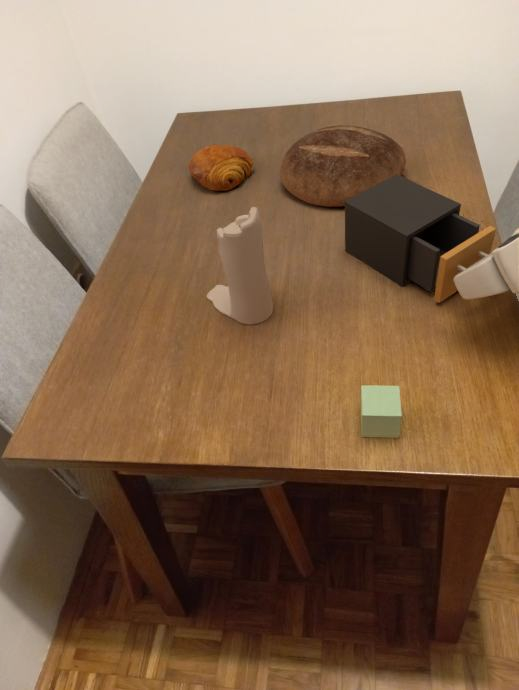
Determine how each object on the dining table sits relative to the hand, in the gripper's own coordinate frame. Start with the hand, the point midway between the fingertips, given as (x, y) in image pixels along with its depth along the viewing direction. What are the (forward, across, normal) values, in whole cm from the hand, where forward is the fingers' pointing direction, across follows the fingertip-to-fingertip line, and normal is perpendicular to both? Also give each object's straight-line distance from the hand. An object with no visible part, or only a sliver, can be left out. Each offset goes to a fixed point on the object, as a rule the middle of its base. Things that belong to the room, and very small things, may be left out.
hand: (478, 267), depth 82 cm
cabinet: (+16, 0, -8) cm, 18 cm away
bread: (+36, -11, -27) cm, 46 cm away
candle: (+23, +30, -14) cm, 40 cm away
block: (-2, +29, +10) cm, 31 cm away
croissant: (+51, +7, -42) cm, 67 cm away
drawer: (+8, 0, -1) cm, 8 cm away
